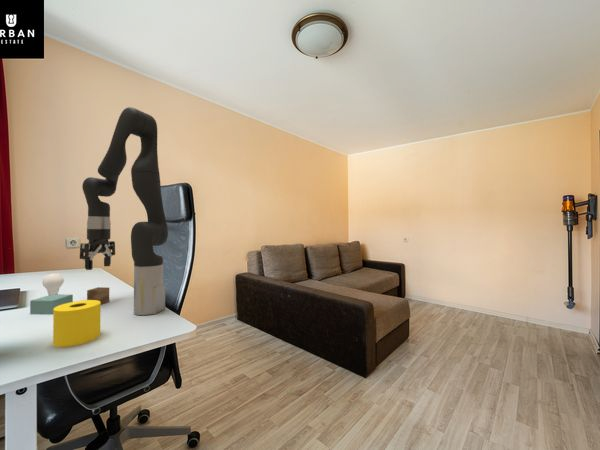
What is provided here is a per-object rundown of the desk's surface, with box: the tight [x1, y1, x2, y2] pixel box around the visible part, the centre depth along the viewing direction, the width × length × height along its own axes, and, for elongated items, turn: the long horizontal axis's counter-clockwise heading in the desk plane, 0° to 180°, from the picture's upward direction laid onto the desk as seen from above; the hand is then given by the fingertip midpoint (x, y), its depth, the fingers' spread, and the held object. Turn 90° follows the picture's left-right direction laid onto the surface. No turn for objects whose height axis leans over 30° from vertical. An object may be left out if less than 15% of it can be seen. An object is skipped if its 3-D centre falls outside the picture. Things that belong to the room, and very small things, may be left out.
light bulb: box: [41, 272, 65, 295], centre depth 109 cm, size 7×7×11 cm
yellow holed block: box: [52, 299, 102, 348], centre depth 72 cm, size 10×10×9 cm
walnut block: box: [86, 286, 110, 306], centre depth 103 cm, size 5×5×6 cm
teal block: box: [29, 293, 74, 315], centre depth 95 cm, size 8×8×5 cm
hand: (98, 267), depth 103 cm, fingers open, 8 cm apart
